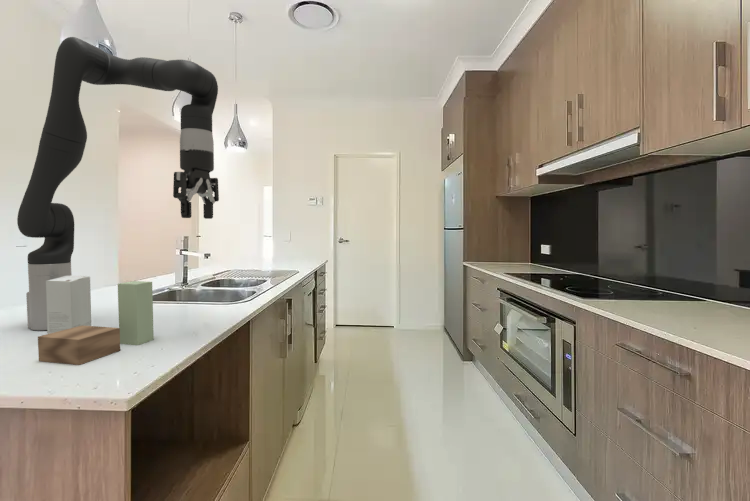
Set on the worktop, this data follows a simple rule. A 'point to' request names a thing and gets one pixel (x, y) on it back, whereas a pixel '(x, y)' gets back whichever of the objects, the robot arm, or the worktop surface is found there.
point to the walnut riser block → (78, 344)
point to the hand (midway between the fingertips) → (197, 218)
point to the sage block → (135, 312)
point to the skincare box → (68, 303)
